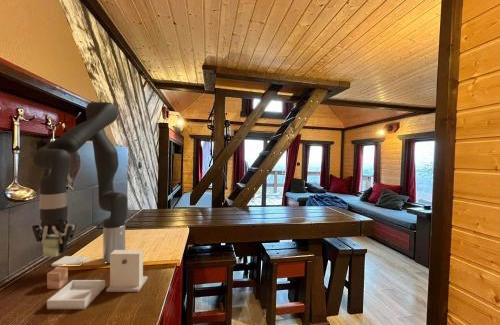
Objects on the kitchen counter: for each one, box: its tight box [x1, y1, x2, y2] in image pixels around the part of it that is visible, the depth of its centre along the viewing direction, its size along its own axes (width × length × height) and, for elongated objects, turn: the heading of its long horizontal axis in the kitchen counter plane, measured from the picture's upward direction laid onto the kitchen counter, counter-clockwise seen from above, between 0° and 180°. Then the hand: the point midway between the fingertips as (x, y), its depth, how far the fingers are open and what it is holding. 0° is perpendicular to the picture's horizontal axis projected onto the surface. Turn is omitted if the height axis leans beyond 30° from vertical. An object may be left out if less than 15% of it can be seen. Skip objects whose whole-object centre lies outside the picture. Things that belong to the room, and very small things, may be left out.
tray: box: [46, 279, 106, 311], centre depth 84 cm, size 12×12×3 cm
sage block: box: [42, 234, 63, 258], centre depth 82 cm, size 4×4×6 cm
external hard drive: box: [51, 255, 92, 267], centre depth 110 cm, size 2×8×12 cm
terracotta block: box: [46, 267, 69, 290], centre depth 91 cm, size 4×4×6 cm
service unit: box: [105, 249, 149, 293], centre depth 93 cm, size 9×12×14 cm
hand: (55, 252), depth 83 cm, fingers closed on sage block, 4 cm apart
